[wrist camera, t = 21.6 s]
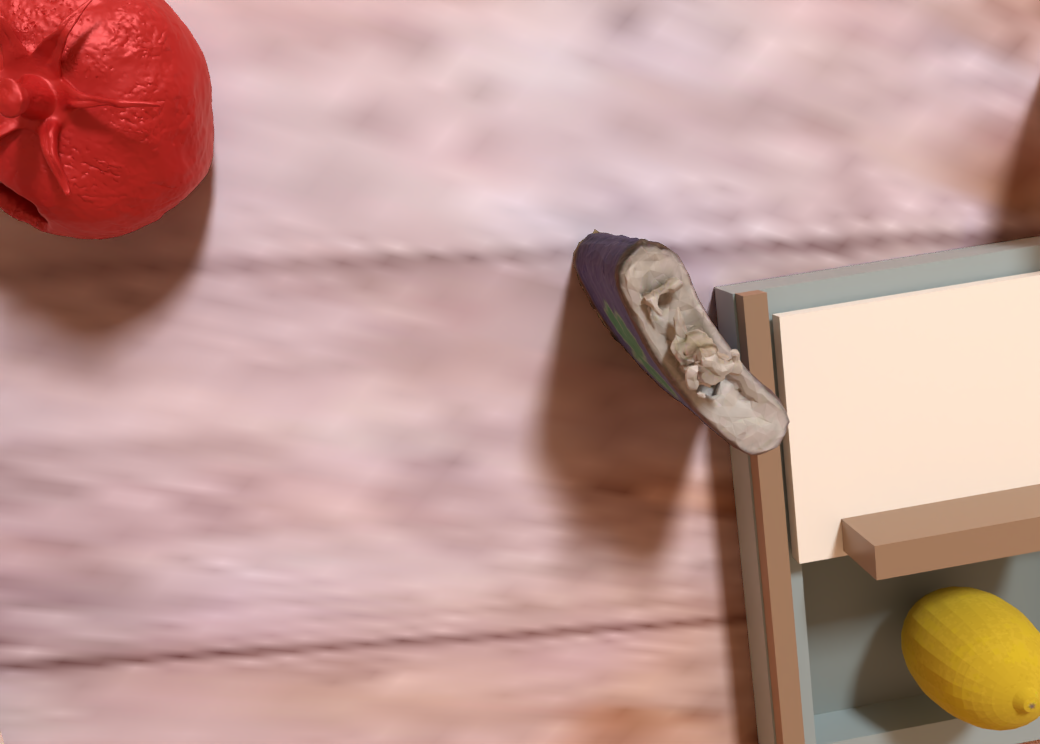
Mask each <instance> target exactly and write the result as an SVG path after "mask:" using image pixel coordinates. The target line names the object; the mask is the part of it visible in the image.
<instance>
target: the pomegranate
mask: <svg viewBox="0 0 1040 744" xmlns="http://www.w3.org/2000/svg"><path fill="white" fill-rule="evenodd" d="M211 93H212V87H211V82H210V75H209V72H208V67H207V64H206V61H205V57H204V55H203V52H202V51H201V49H200V47H199V45H198V43H197V42H196V40H195V39H194V37H193V35H192V34H191V32H190V31H189V29H188V28H187V26H186V25H185V24H184V23H183V22H182V21H181V19H180V18H179V17H178V15H177V14H176V13H175V12H174V11H173V9H172V8H171V7H170V6H169V5H168V4H167V3H166V2H165V1H164V0H0V208H1V209H2V210H3V211H4V212H5V213H8V214H9V215H10V216H12V217H13V218H16V219H18V221H24V222H26V223H28V224H30V225H32V226H33V227H35V228H37V229H39V230H40V231H43V232H46V233H51V234H55V235H61V236H68V237H74V238H78V239H108V238H113V237H118V236H122V235H125V234H128V233H131V232H133V231H136V230H138V229H140V228H142V227H144V226H146V225H148V224H150V223H152V222H155V221H157V220H159V219H160V218H161V217H162V215H163V214H164V213H166V212H167V211H168V210H170V209H172V208H174V207H175V206H177V205H178V204H179V202H180V201H181V200H183V199H185V198H186V197H187V196H188V194H189V193H191V192H192V191H193V190H194V189H195V188H196V186H197V185H199V183H200V182H201V181H202V180H203V178H204V177H205V176H206V175H207V173H208V170H209V168H210V165H211V162H212V158H213V141H214V125H213V112H212V104H211V102H212V94H211Z"/></svg>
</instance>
